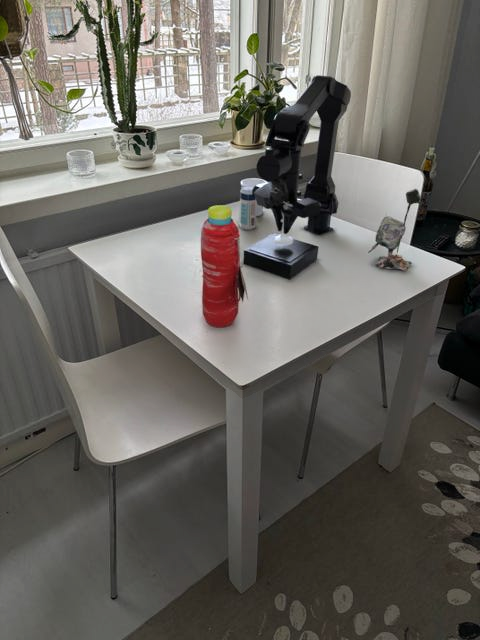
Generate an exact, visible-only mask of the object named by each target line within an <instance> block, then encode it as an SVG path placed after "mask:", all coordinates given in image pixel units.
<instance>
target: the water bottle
mask: <svg viewBox="0 0 480 640" xmlns="http://www.w3.org/2000/svg"><path fill="white" fill-rule="evenodd" d="M207 216H208V218H207V219H205V221H204V222H203V225H202V227H201V231H200V258H201V265H202V266H201V269H202V276H201V278H202V290H201V306H202V316H203V318H204V320H205V322H206V323H207V324H209V325H210V326H211V327H214V328H226V327H228V326H231V325H232V324H233V322H235V320H236V319H237V317H238V314H239V302H240V301H241V302H242V303H244V297H245V295H246V298H247V300H249V297H248V296H249V295H248V291H247V284H246V280H245V277H244V275H243V271H242V269H243V268H244V265H241V247H240V231H239V227H238V226H237V224H236V223H235V221H234V219H233V218H232V208H231V207H229V206H227V205H223V204H222V205H221V204H219V205H213V206H210V207H208V209H207Z"/></svg>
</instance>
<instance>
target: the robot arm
mask: <svg viewBox="0 0 480 640" xmlns="http://www.w3.org/2000/svg"><path fill="white" fill-rule="evenodd" d="M351 98H352V91H351V89H350V88H349V87H348V85H347V84H345V83H342V82H340V81H338V80H337V79H336V78H335V77H333V76H332V75H331V76H330V75H321V74H320V75H319V74H317V75H314V76H313V77H312V79H311V83H310V84H309V85H308V86H307V88H306V89H305V90H304V92H303V93H302V94H301V95H300V96H299V98H298V99H297V100H296V101H295V103H293V104H292V105H289V106H286V107H283V108H282V109H281V110H280V111H279V112H277V113H276V114H275V116H274V118H273V120H272V122H271V125H270V128H269V131H268V135H267V137H266V140H265V143H264V146H265V147H267V148H265V153H264V155H262V156H260V157H259V158H258V159H257V163H256V172H257V174H258V176H259V177H260V179H262V180H265V181H266V182H267V183H263V184H259V185H255V186H254V188H253V189H252V197H254V198H256V202H257V205H259V206H263V208H264V209H266V210H271V212H272V214H273V217H274V221H275V224H276V229H277V231H278V232H281V231H282V225H283V222H281V219H283V216H282V213H283V215H284V234H288V233H289V232H290V230H291V228H292V227H293V226H294V224H295V222H296V220H297V219H298V217H299V218H301V219H307V225H305V226H303V229H304V230H306V231H308V232H310V233H313V234H316V235H318V236H322V235H324V234H327V233H330V232H333V231H334V228H333V227H331V219H332V215H334V214H337V213H338V209H339V199H338V197H337V195H336V184H335V182H334V179H333V178H332V173H333V166H334V165H333V164H334V157H335V151H336V143H337V137H338V131H339V130H338V129H339V123H340V120H341V119H342V117H343V116H344V115H345V113H346V112H347V110H348V105H349V104H350V101H351ZM316 113H317V115H318V117H319V120H320V124H319V132H318V140H317V147H316V156H315V165H314V173H313V176H312V178H311V179H310V180H309V182H307V184H306V185H305V191H304V194H303V199H302V198H298V197H301V196H302V191H300V190H299V181H300V180H303V177H304V175H303V174H302V173H300V170H301V161H302V160H301V158H302V148H304V146H305V142H306V139H307V137H308V134H309V133H310V121H311V119H312V118H313V116H314V115H315V114H316ZM285 203H286V204H287V207H286V209H285V208H284V207H283V205H285Z"/></svg>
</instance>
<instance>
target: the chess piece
mask: <svg viewBox="0 0 480 640" xmlns="http://www.w3.org/2000/svg"><path fill="white" fill-rule="evenodd" d="M283 207H284V208H285V209H286V207H287V204H286V203H285V205H283ZM282 216H283V219H281V222H283V225H282V231H280V234H279V236H276V237H275V238H274V242H275V243H276V244H278V245H290V244H292V243H293V239H294V237H292V236H290V235H289V234H288V233H287V234H284V215H283V213H282Z"/></svg>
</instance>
